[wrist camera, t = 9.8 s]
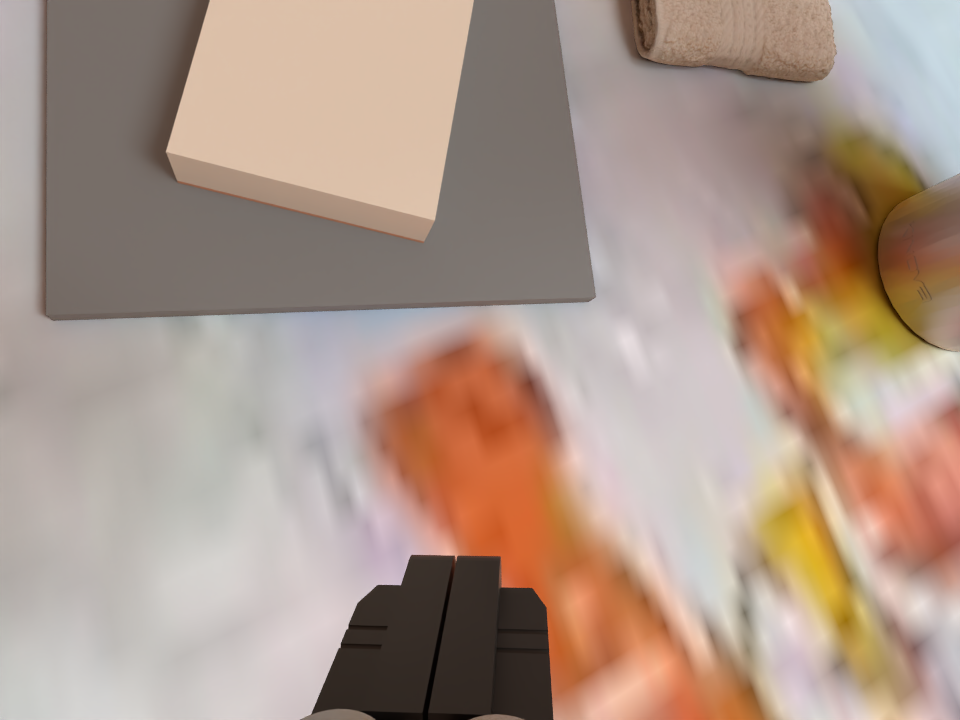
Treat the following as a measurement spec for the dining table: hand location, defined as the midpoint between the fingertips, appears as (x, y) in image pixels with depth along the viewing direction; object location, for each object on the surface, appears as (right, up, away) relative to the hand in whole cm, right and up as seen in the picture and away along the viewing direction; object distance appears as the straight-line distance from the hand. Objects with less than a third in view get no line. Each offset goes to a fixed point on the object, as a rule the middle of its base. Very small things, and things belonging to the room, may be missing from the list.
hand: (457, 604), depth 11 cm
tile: (-6, +10, +15) cm, 19 cm away
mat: (-6, +15, +18) cm, 24 cm away
